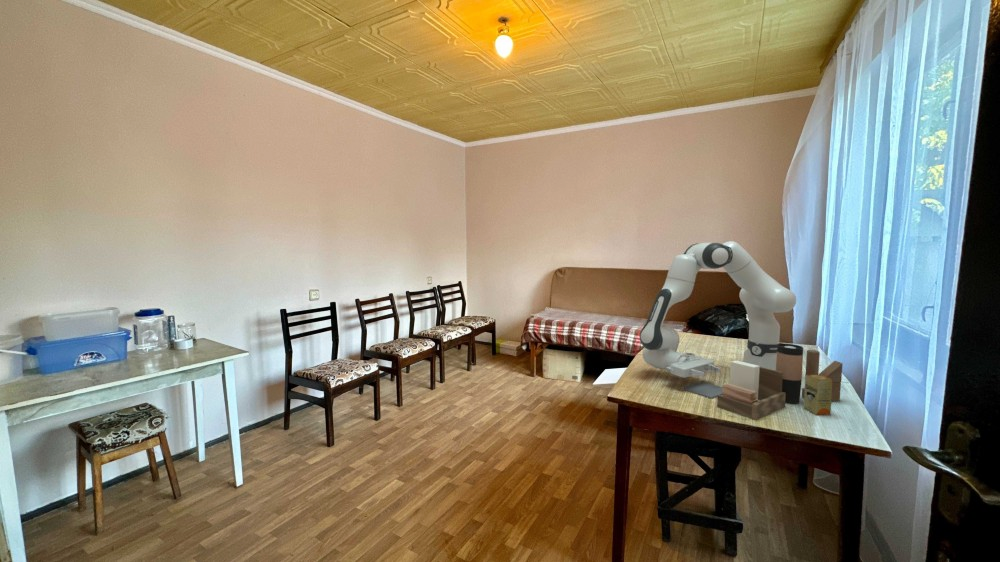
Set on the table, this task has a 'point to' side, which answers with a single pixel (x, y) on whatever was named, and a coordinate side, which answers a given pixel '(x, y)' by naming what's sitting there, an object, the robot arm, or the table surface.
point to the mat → (704, 389)
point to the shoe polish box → (818, 394)
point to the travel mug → (790, 370)
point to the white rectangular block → (745, 375)
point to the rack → (759, 397)
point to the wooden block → (824, 372)
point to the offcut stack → (739, 394)
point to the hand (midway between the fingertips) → (711, 372)
